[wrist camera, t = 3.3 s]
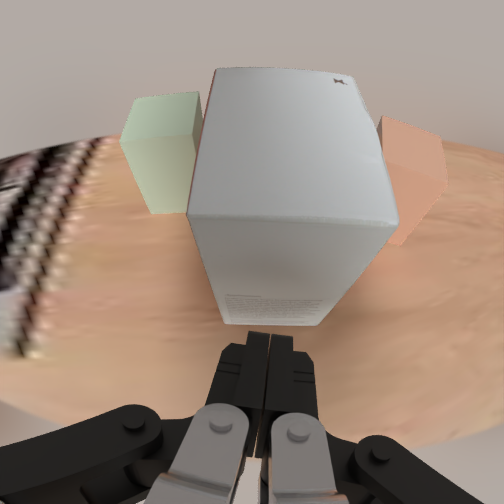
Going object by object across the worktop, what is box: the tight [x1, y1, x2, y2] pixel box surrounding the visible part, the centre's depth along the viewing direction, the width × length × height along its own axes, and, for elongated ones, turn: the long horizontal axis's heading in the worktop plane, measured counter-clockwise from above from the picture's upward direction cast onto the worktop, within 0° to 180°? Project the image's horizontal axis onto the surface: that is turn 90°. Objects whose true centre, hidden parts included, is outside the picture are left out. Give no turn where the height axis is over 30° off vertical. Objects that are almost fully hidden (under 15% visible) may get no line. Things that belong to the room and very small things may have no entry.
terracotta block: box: [377, 116, 449, 246], centre depth 20 cm, size 4×4×8 cm
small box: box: [186, 67, 400, 326], centre depth 16 cm, size 8×6×13 cm
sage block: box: [119, 92, 203, 214], centre depth 21 cm, size 4×4×8 cm
